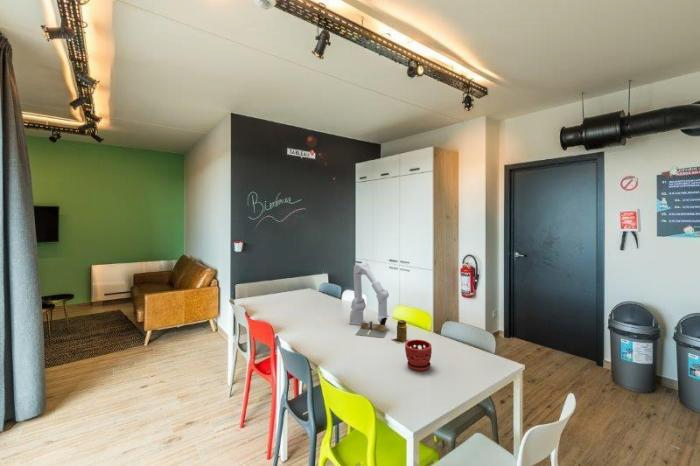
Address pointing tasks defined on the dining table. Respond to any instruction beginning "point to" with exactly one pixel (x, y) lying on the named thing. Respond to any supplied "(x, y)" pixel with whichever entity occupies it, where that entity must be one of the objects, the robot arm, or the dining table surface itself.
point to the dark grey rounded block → (366, 325)
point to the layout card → (372, 333)
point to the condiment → (401, 332)
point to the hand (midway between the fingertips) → (382, 328)
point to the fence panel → (379, 327)
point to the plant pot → (418, 354)
